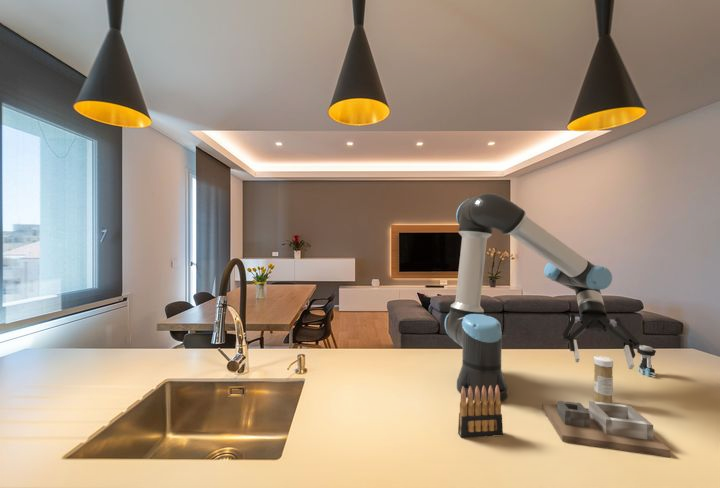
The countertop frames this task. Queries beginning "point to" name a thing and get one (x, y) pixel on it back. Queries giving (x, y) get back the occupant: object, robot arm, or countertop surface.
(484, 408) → the ammunition clip
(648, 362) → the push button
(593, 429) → the socket board
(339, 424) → the countertop surface
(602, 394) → the sprinkles bottle
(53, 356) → the countertop surface
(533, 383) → the countertop surface
